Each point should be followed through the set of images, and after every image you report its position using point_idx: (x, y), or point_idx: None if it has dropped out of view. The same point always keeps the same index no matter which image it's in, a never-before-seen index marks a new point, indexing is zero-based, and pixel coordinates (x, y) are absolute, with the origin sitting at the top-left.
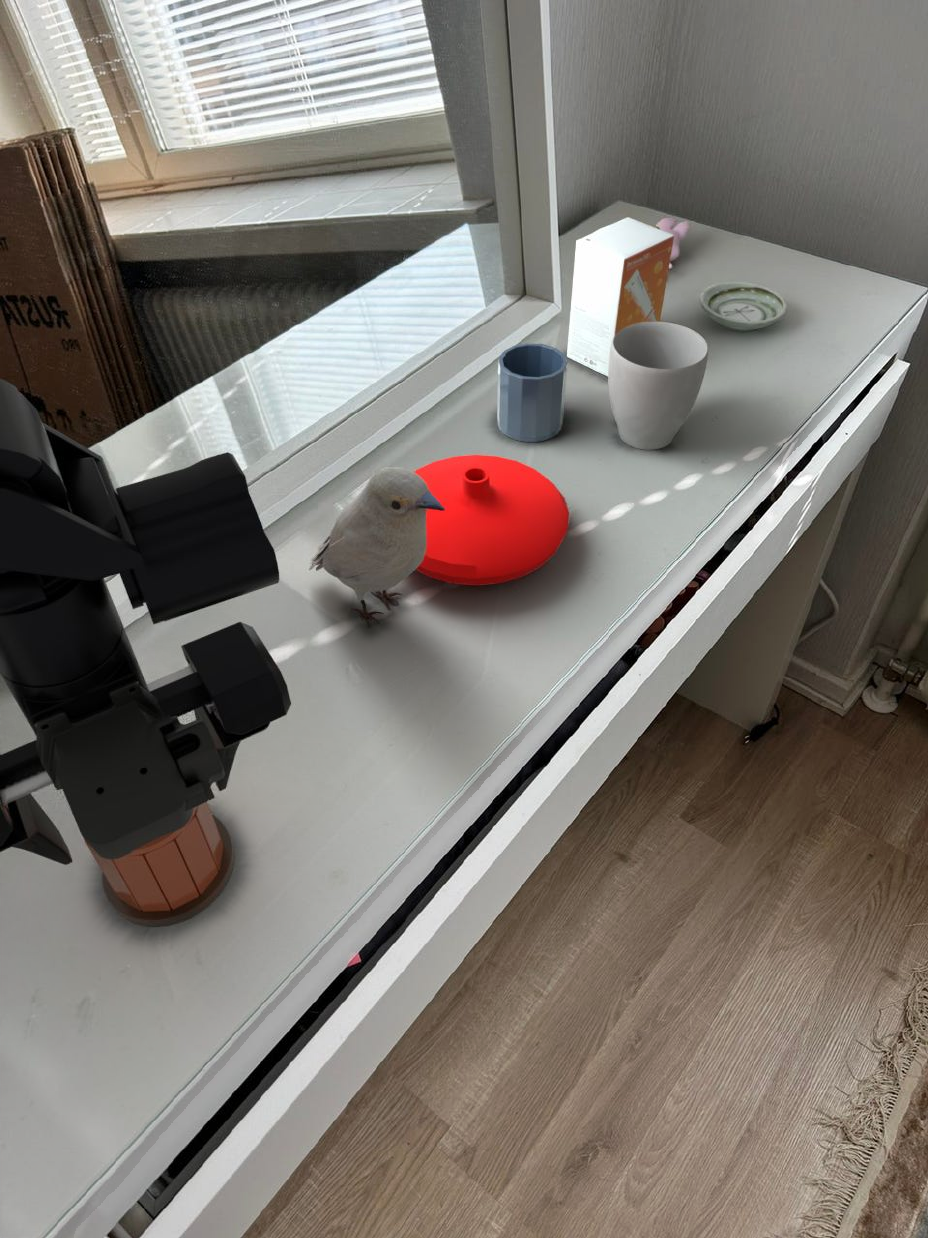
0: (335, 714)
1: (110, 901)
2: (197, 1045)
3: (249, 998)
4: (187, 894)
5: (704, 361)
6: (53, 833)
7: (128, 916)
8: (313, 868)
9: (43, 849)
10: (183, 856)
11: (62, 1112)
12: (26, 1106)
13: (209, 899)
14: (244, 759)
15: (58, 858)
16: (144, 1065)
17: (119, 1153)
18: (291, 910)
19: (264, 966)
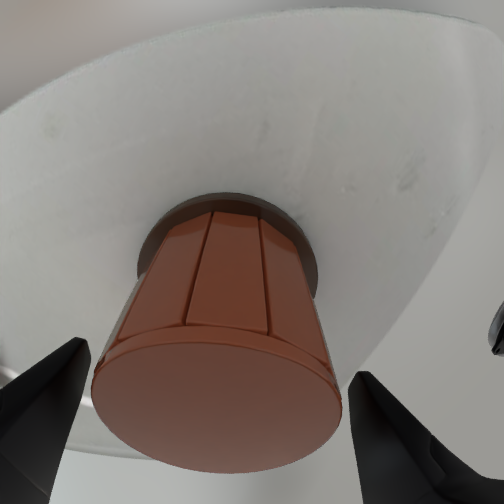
0: (8, 314)
1: (316, 282)
2: (329, 30)
3: (236, 33)
4: (227, 221)
5: None
6: (375, 441)
7: (311, 249)
8: (69, 156)
9: (415, 432)
10: (193, 274)
11: (470, 98)
12: (486, 134)
13: (204, 198)
14: (96, 336)
15: (384, 393)
16: (392, 62)
17: (446, 17)
18: (118, 114)
19: (193, 60)
